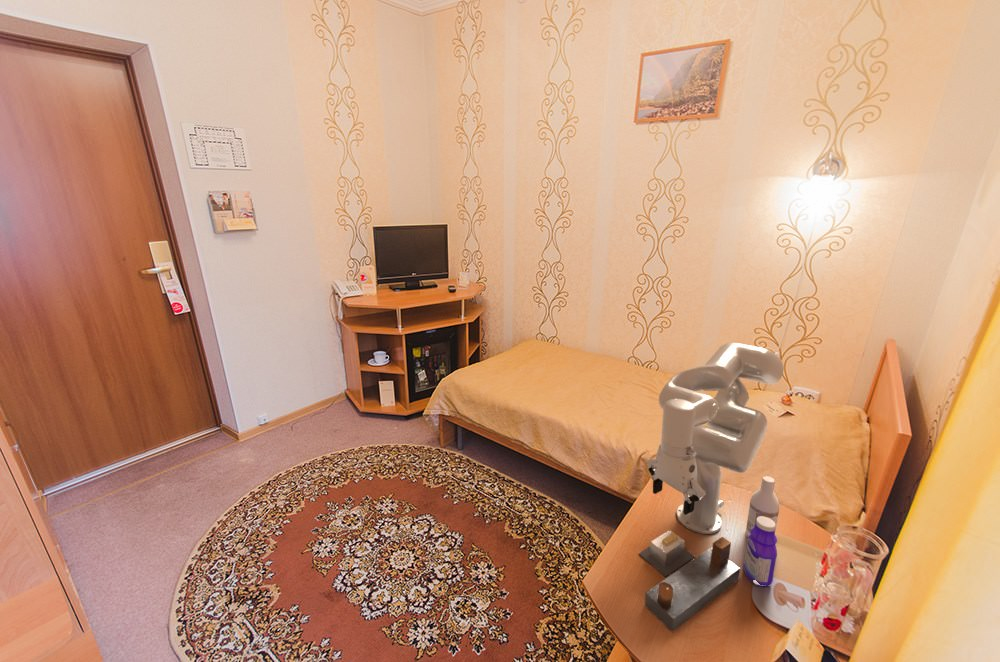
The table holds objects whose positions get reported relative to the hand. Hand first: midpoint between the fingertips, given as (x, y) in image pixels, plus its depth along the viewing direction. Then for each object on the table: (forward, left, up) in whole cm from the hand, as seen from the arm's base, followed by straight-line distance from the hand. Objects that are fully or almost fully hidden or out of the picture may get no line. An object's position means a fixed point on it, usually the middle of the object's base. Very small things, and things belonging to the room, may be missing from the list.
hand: (672, 501), depth 110 cm
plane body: (+5, +11, -18) cm, 21 cm away
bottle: (-13, +17, -18) cm, 28 cm away
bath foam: (-27, +10, -18) cm, 34 cm away
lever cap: (0, 0, -17) cm, 17 cm away
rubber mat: (+1, 0, -18) cm, 18 cm away
